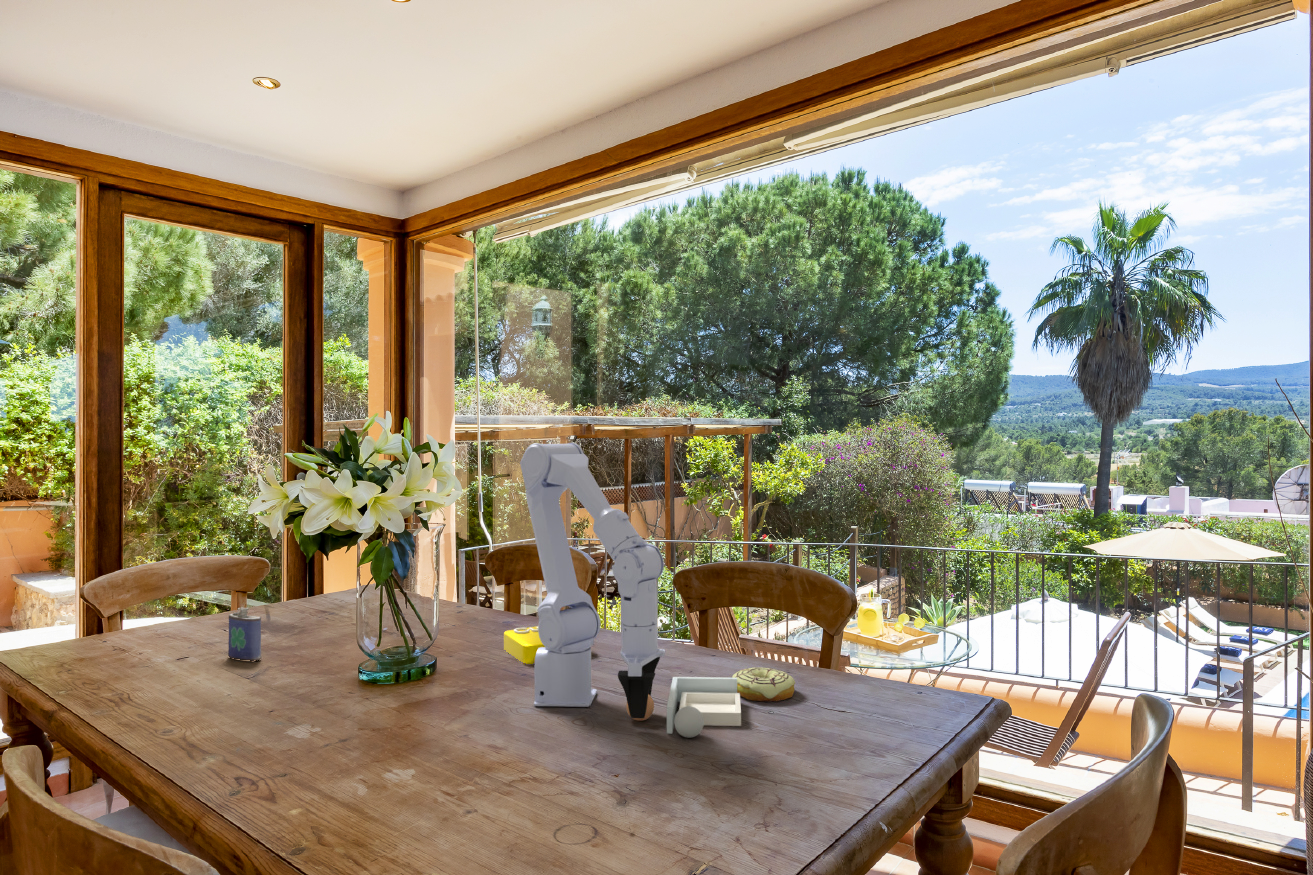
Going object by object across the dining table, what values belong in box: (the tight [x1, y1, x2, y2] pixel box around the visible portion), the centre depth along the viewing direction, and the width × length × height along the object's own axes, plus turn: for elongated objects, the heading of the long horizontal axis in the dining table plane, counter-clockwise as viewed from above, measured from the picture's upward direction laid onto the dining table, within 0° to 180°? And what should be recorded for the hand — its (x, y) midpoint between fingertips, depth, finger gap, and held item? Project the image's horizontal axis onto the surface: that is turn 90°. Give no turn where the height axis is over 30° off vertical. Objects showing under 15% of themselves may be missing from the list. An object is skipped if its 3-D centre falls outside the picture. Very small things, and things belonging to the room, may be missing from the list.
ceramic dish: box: [678, 692, 742, 727], centre depth 125 cm, size 10×10×2 cm
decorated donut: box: [731, 666, 796, 702], centre depth 135 cm, size 10×11×4 cm
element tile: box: [503, 625, 545, 664], centre depth 164 cm, size 15×15×5 cm
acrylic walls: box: [666, 676, 737, 735], centre depth 124 cm, size 11×15×4 cm
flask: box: [227, 607, 262, 661], centre depth 161 cm, size 9×3×11 cm, turn 61°
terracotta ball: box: [625, 694, 655, 722], centre depth 123 cm, size 4×4×4 cm
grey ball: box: [674, 706, 705, 739], centre depth 116 cm, size 4×4×4 cm
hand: (640, 708), depth 123 cm, fingers open, 7 cm apart
